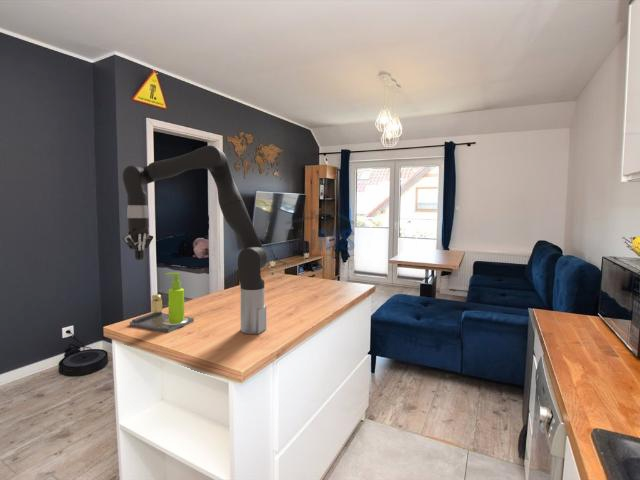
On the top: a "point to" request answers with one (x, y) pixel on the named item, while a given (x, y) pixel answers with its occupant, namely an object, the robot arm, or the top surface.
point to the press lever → (156, 303)
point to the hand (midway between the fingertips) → (139, 259)
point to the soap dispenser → (176, 300)
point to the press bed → (159, 322)
